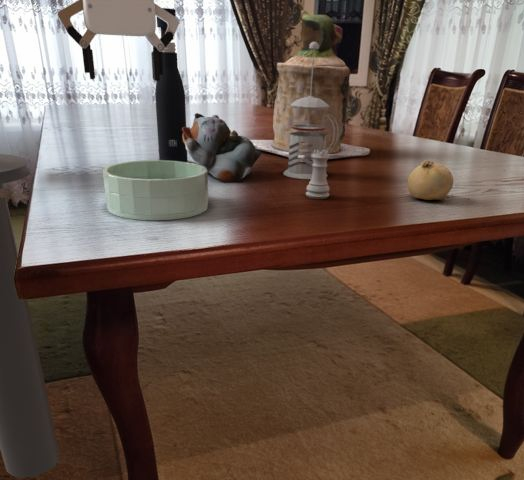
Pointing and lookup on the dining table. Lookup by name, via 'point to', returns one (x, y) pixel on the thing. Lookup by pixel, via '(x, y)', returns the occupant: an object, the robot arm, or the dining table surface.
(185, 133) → the lucky cat figurine
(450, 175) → the onion
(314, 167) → the rook chess piece
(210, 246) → the dining table surface
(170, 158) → the black water bottle
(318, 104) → the french press
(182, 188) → the bowl
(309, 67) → the cookie jar
